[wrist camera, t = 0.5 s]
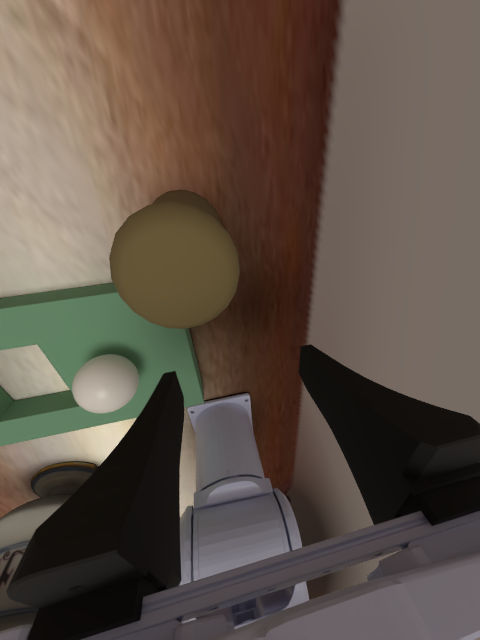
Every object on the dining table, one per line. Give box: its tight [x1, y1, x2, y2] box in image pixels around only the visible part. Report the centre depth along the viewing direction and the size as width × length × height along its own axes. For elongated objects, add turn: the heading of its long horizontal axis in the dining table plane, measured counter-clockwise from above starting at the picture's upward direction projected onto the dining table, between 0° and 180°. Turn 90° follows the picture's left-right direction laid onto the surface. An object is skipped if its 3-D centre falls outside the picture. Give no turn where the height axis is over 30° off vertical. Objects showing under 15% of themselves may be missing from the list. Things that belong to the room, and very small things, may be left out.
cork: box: [109, 190, 240, 329], centre depth 12 cm, size 6×6×11 cm
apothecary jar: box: [0, 462, 98, 631], centre depth 23 cm, size 12×12×18 cm
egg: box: [72, 354, 139, 413], centre depth 17 cm, size 4×4×4 cm
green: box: [0, 283, 204, 446], centre depth 20 cm, size 14×21×2 cm, turn 95°
